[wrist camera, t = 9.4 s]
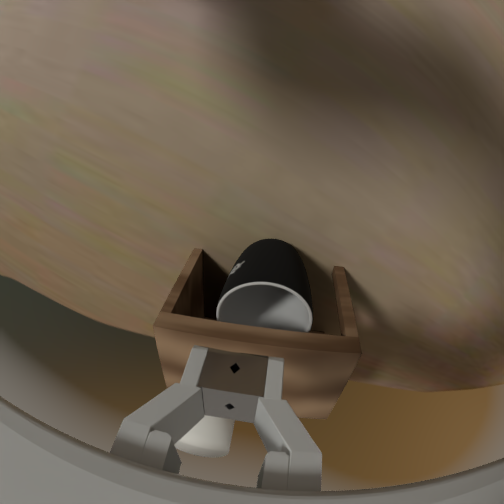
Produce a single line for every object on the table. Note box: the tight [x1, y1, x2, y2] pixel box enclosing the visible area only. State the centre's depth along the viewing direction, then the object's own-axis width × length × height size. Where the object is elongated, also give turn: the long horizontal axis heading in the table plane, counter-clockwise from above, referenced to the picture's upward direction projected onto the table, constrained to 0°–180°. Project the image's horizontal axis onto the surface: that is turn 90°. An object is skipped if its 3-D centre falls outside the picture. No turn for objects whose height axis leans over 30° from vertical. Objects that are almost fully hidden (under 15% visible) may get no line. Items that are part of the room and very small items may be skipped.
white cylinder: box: [174, 415, 235, 457], centre depth 25 cm, size 6×6×7 cm
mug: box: [216, 239, 313, 333], centre depth 32 cm, size 12×9×10 cm
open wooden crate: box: [153, 248, 362, 419], centre depth 33 cm, size 12×18×14 cm, turn 86°
